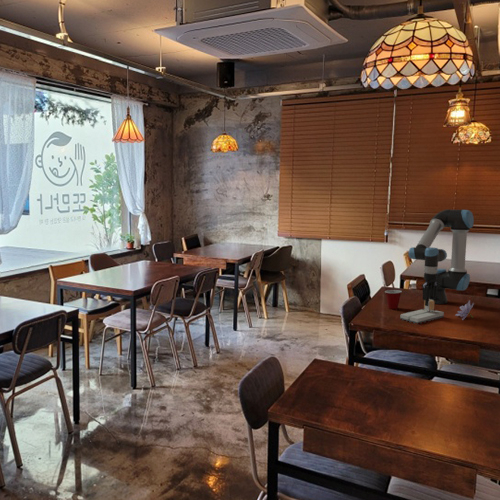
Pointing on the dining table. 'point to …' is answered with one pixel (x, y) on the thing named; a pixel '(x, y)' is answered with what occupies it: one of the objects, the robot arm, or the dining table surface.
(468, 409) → the dining table surface
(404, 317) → the fader console
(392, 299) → the plastic cup
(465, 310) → the water lily
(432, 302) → the fader knob
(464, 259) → the robot arm
